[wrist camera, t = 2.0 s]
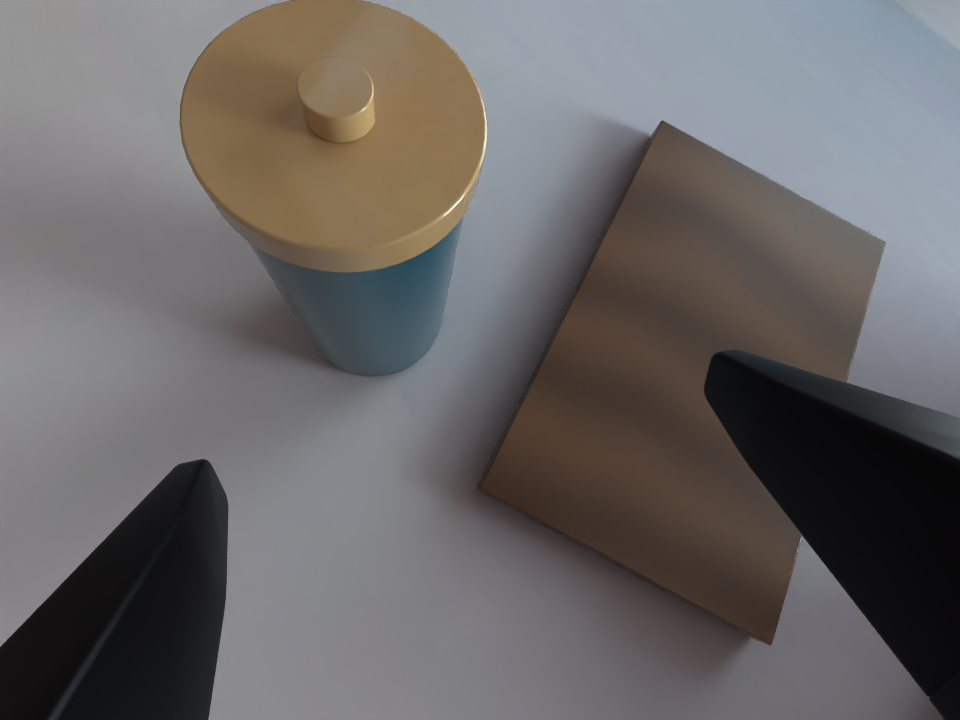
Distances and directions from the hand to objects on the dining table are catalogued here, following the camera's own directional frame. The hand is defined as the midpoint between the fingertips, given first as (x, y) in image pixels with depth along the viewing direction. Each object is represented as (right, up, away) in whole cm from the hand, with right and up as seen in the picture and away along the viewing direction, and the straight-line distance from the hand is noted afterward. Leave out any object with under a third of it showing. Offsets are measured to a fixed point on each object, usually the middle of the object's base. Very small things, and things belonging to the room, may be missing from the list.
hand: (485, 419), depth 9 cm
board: (+11, +1, +17) cm, 20 cm away
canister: (-5, +3, +15) cm, 16 cm away
